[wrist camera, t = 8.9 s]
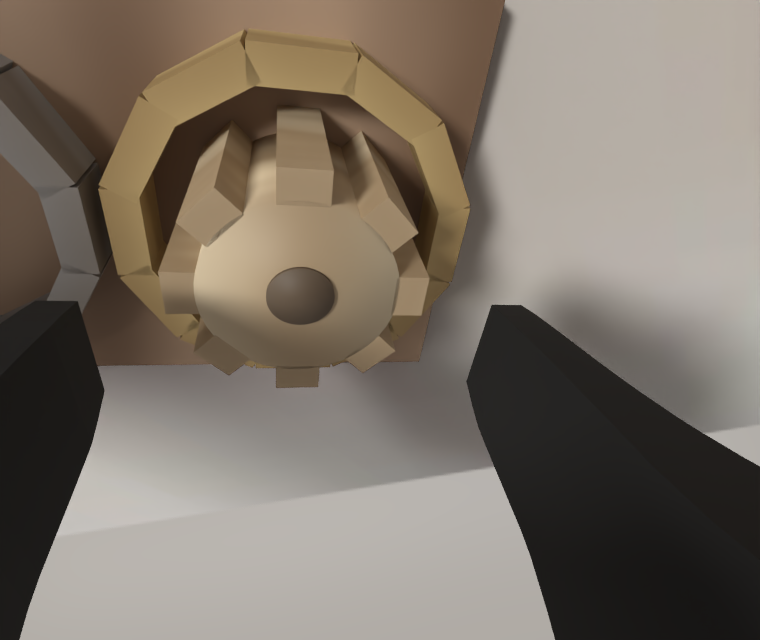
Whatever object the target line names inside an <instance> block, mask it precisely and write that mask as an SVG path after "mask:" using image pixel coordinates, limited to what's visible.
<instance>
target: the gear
mask: <svg viewBox="0 0 760 640" xmlns="http://www.w3.org/2000/svg"><path fill="white" fill-rule="evenodd" d="M416 234H418V231H417V229H416V226H415V224H414V222H413V220H412V218H411V216H410V213H409V211H408V209H407V207H406V205H405V203H404V200H403V198H402V196H401V194H400V192H399V190H398V188H397V185H396V183H395V181H394V179H393V177H392V175H391V172H390V170H389V168H388V166H387V164H386V162H385V160H384V159H383V157H382V156H381V155H380V154H379V152H378V151H377V150H376V149H375V147H374V146H373V145H372V144H371V142H370V141H369V140H368V139H367V137H366V136H365V135H364V134H363V132H362V131H360V132H359V133H358V134H357V135H356V136H354V137H353V138H352V139H351V140H350V141H349V142H347V143H346V144H345V145H344V146H343V147H342V148H340V147H339V146H337V145H336V144H334V143H332V142H331V141H328V140H327V138H326V134H325V129H324V125H323V120H322V116H321V112H320V108H310V107H299V106H289V105H278V104H277V133H275V134H271V135H267V136H264V137H261V138H259V139H256V140H254V141H252V140H251V139H250V138H249V137H248V136H247V135H246V134H245V133H244V132H243V131H242V130H241V129H240V128H239V127H238V126H237V125H236V124H235V122H234V121H233V120H231V121H230V122H229V123H228V124H227V125H226V126H225V127H224V128H223V129H222V130H221V131H219V132H218V133H217V134H216V135H215V136H214V137H213V138H212V139H211V140H210V141H209V142H208V143H207V144H206V145H205V146H204V147H203V149H202V152H201V154H200V157H199V160H198V163H197V165H196V168H195V171H194V174H193V176H192V179H191V182H190V184H189V187H188V190H187V193H186V195H185V198H184V201H183V204H182V206H181V209H180V212H179V215H178V217H177V220H176V224H175V227H174V229H173V232H172V235H171V238H170V240H169V243H168V246H167V249H166V251H165V254H164V257H163V260H162V262H161V265H160V268H159V271H158V275H159V281H160V286H161V292H162V298H163V304H164V310H165V314H200V316H201V318H200V323H199V328H198V332H197V337H196V342H195V347H194V352H193V353H194V354H196V355H198V356H199V357H201V358H202V359H204V360H205V361H207V362H209V363H210V364H212V365H213V366H215V367H216V368H218V369H220V370H221V371H223V372H224V373H226V374H227V375H230V374H232V373H233V372H234V371H236V370H237V369H238V368H240V367H241V366H242V365H244V364H245V363H246V362H248V361H249V360H250V361H253V362H256V363H259V364H262V365H266V366H270V367H275V368H276V388H293V387H318V381H319V367H322V366H326V365H330V364H333V363H336V362H339V361H342V360H344V359H346V360H347V361H348V362H350V363H351V364H352V365H353V366H355V367H356V368H357V369H358V370H360V371H361V372H362V373H364V372H365V371H367V370H368V369H370V368H371V367H373V366H374V365H375V364H377V363H378V362H380V361H381V360H383V359H384V358H386V357H387V356H389V355H390V354H392V353H393V352H395V348H394V344H393V340H392V337H391V333H390V329H389V326H388V323H389V321H390V319H391V318H392V315H415V316H421V314H422V310H423V305H424V301H425V296H426V292H427V287H428V283H429V276H428V273H427V271H426V269H425V267H424V264H423V262H422V260H421V257H420V255H419V253H418V250H417V248H416V246H415V244H414V241H413V239H412V237H414V236H415V235H416Z"/></svg>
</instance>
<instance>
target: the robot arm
mask: <svg viewBox="0 0 760 640" xmlns="http://www.w3.org/2000/svg"><path fill="white" fill-rule="evenodd" d="M467 385H468V389H469V393H470V397H471V401H472V406H473V409H474V413H475V416H476V420H477V424H478V427H479V430H480V432H481V435H482V437H483V440H484V442H485V445H486V447H487V450H488V452H489V454H490V457H491V459H492V462H493V464H494V467H495V469H496V471H497V474H498V476H499V479H500V481H501V483H502V486H503V488H504V491H505V493H506V495H507V498H508V500H509V503H510V505H511V507H512V510H513V512H514V515H515V517H516V519H517V522H518V524H519V527H520V529H521V531H522V534H523V537H524V540H525V542H526V545H527V548H528V550H529V553H530V556H531V559H532V562H533V566H534V569H535V572H536V575H537V579H538V582H539V585H540V589H541V592H542V595H543V598H544V601H545V605H546V608H547V612H548V615H549V619H550V622H551V626H552V630H553V633H554V637H555V640H760V466H758V465H756V464H754V463H752V462H751V461H749V460H747V459H745V458H744V457H741V456H740V455H738V454H737V453H735V452H733V451H732V450H730V449H728V448H727V447H725V446H723V445H722V444H720V443H718V442H717V441H715V440H713V439H712V438H710V437H708V436H707V435H705V434H703V433H701V432H700V431H698V430H697V429H695V428H693V427H692V426H690V425H689V424H687V423H686V422H684V421H682V420H681V419H679V418H678V417H676V416H675V415H673V414H672V413H670V412H669V411H667V410H666V409H664V408H663V407H661V406H660V405H658V404H657V403H655V402H654V401H653V400H651V399H650V398H648V397H647V396H645V395H644V394H642V393H641V392H639V391H638V390H636V389H635V388H634V387H632V386H631V385H629V384H628V383H627V382H625V381H624V380H622V379H621V378H620V377H618V376H617V375H616V374H614V373H613V372H611V371H610V370H609V369H607V368H606V367H605V366H603V365H602V364H601V363H599V362H598V361H597V360H595V359H594V358H593V357H591V356H590V355H589V354H587V353H586V352H585V351H583V350H582V349H581V348H579V347H578V346H577V345H575V344H574V343H573V342H571V341H570V340H569V339H568V338H566V337H565V336H564V335H562V334H561V333H560V332H558V331H557V330H556V329H554V328H553V327H552V326H550V325H549V324H548V323H546V322H545V321H544V320H542V319H541V318H539V317H538V316H537V315H535V314H534V313H532V312H531V311H529V310H528V309H526V308H525V307H523V306H521V305H492V306H491V309H490V312H489V315H488V318H487V321H486V324H485V327H484V330H483V333H482V336H481V339H480V342H479V345H478V348H477V351H476V354H475V357H474V360H473V363H472V366H471V369H470V372H469V376H468V379H467ZM103 395H104V387H103V384H102V380H101V377H100V374H99V370H98V367H97V364H96V360H95V357H94V354H93V350H92V347H91V344H90V340H89V337H88V334H87V330H86V327H85V324H84V320H83V317H82V314H81V310H80V307H79V304H78V301H34V302H32V303H31V304H29V305H28V306H26V307H24V308H23V309H21V310H20V311H18V312H17V313H15V314H14V315H12V316H11V317H9V318H8V319H6V320H5V321H3V322H2V323H0V640H19V639H20V635H21V632H22V628H23V625H24V621H25V618H26V614H27V611H28V607H29V605H30V602H31V599H32V596H33V593H34V590H35V588H36V585H37V582H38V579H39V576H40V574H41V571H42V569H43V566H44V564H45V561H46V559H47V556H48V554H49V551H50V549H51V546H52V544H53V541H54V539H55V536H56V534H57V531H58V529H59V526H60V524H61V521H62V519H63V516H64V514H65V511H66V509H67V506H68V504H69V501H70V499H71V496H72V494H73V491H74V489H75V486H76V484H77V481H78V478H79V476H80V473H81V471H82V468H83V466H84V463H85V460H86V458H87V455H88V453H89V450H90V447H91V445H92V441H93V437H94V433H95V429H96V425H97V421H98V417H99V413H100V408H101V404H102V399H103Z"/></svg>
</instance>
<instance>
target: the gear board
mask: <svg viewBox="0 0 760 640" xmlns="http://www.w3.org/2000/svg"><path fill="white" fill-rule="evenodd" d="M504 3H505V0H0V323H2V322H3V321H5V320H6V319H8V318H9V317H11V316H12V315H14V314H15V313H17V312H18V311H20V310H21V309H23V308H24V307H26V306H28V305H29V304H31V303H32V302H34V301H78V304H79V307H80V310H81V314H82V317H83V320H84V324H85V327H86V330H87V334H88V337H89V340H90V344H91V347H92V350H93V354H94V357H95V360H96V364H97V366H111V365H186V364H210V363H209V362H207V361H205V360H204V359H202V358H201V357H199V356H198V355H196V354H194V353H193V352H194V347H195V342H196V337H197V332H198V328H199V323H200V318H201V316H200V314H165V310H164V304H163V298H162V292H161V286H160V281H159V275H158V271H159V268H160V265H161V262H162V260H163V257H164V254H165V251H166V249H167V246H168V243H169V240H170V238H171V235H172V232H173V229H174V227H175V224H176V220H177V217H178V215H179V212H180V209H181V206H182V204H183V201H184V198H185V195H186V193H187V190H188V187H189V184H190V182H191V179H192V176H193V174H194V171H195V168H196V165H197V163H198V160H199V157H200V154H201V152H202V149H203V147H204V146H205V145H206V144H207V143H208V142H209V141H210V140H211V139H212V138H213V137H214V136H215V135H216V134H217V133H218V132H219V131H221V130H222V129H223V128H224V127H225V126H226V125H227V124H228V123H229V122H230V121H231V120H233V121H234V122H235V124H236V125H237V126H238V127H239V128H240V129H241V130H242V131H243V132H244V133H245V134H246V135H247V136H248V137H249V138H250V139H251V140H252V141H254V140H256V139H259V138H261V137H264V136H267V135H271V134H275V133H277V104H278V105H289V106H299V107H310V108H320V112H321V116H322V120H323V125H324V129H325V134H326V138H327V140H328V141H331V142H332V143H334V144H336V145H337V146H339V147H340V148H342V147H343V146H344V145H345V144H346V143H347V142H349V141H350V140H351V139H352V138H353V137H354V136H356V135H357V134H358V133H359V132H360V131H362V132H363V134H364V135H365V136H366V137H367V139H368V140H369V141H370V142H371V144H372V145H373V146H374V147H375V149H376V150H377V151H378V152H379V154H380V155H381V156H382V157H383V159H384V160H385V162H386V164H387V166H388V168H389V170H390V172H391V175H392V177H393V179H394V181H395V183H396V185H397V188H398V190H399V192H400V194H401V196H402V198H403V200H404V203H405V205H406V207H407V209H408V211H409V213H410V216H411V218H412V220H413V222H414V224H415V226H416V229H417V231H418V234H416V235H415V236H414V237H412V239H413V241H414V244H415V246H416V248H417V250H418V253H419V255H420V257H421V260H422V262H423V264H424V267H425V269H426V271H427V273H428V276H429V283H428V287H427V292H426V296H425V301H424V305H423V310H422V314H421V316H415V315H392V318H391V319H390V321H389V323H388V326H389V329H390V333H391V337H392V340H393V344H394V348H395V352H393V353H392V354H390V355H389V356H387V357H386V358H384V359H383V360H381V361H380V362H410V361H419V359H420V355H421V351H422V347H423V342H424V338H425V334H426V330H427V326H428V321H429V317H430V313H431V309H432V305H433V302H434V301H435V300H436V299H437V298H438V297H439V296H440V295H441V294H442V293H443V292H444V291H445V289H446V288H447V287H448V286H449V285H450V284H449V282H452V278H453V274H454V270H455V266H456V263H457V259H458V255H459V251H460V247H461V243H462V239H463V236H464V232H465V228H466V224H467V220H468V216H469V212H470V208H469V207H468V206H470V203H469V200H468V197H467V194H466V191H465V187H464V184H463V181H462V179H463V175H464V170H465V166H466V162H467V158H468V154H469V149H470V145H471V141H472V137H473V133H474V129H475V124H476V120H477V116H478V112H479V108H480V103H481V99H482V95H483V91H484V87H485V82H486V78H487V74H488V70H489V66H490V61H491V57H492V53H493V49H494V45H495V40H496V36H497V32H498V28H499V24H500V19H501V15H502V11H503V7H504ZM342 362H348V361H347V360H346V359H344V360H342V361H339V362H336V363H333V364H332V365H333V366H335V365H338V364H340V363H342ZM255 364H256V368H275V367H270V366H266V365H262V364H259V363H256V362H253V361H250V360H249V361H248V362H246V363H245V365H247V366H250V367H252V368H253V366H254V365H255ZM322 367H330V365H326V366H322Z"/></svg>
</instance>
